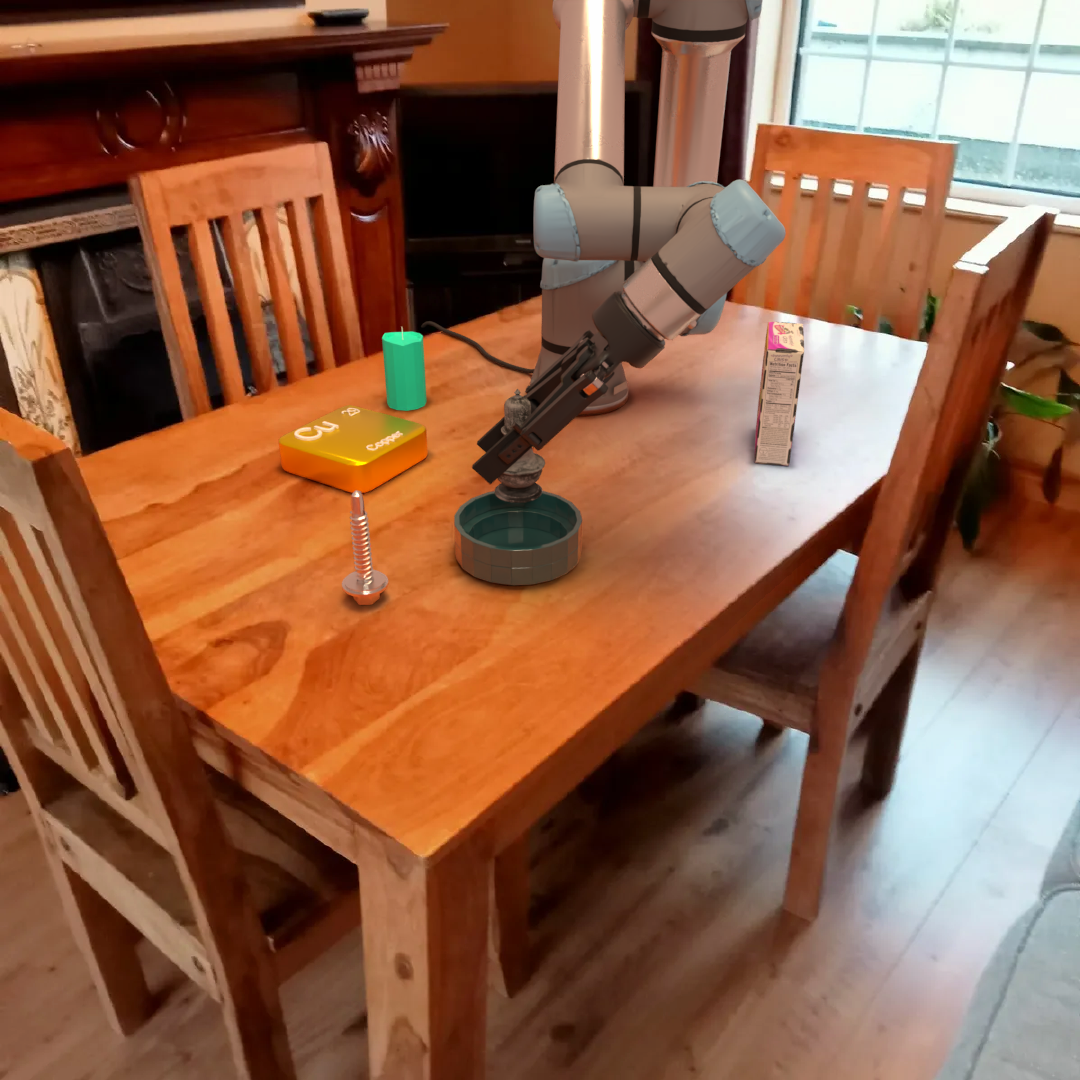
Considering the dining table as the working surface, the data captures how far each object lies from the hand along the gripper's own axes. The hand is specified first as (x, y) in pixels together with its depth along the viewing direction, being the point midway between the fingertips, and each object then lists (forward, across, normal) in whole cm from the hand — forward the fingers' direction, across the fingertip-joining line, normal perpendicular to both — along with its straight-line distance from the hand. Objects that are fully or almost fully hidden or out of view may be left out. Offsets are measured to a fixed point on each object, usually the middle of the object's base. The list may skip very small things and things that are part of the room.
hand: (484, 462), depth 109 cm
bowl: (+6, 0, -11) cm, 12 cm away
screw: (+17, -9, 0) cm, 19 cm away
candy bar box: (-18, +30, -35) cm, 50 cm away
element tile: (+22, +24, +5) cm, 33 cm away
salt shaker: (0, 0, -5) cm, 5 cm away
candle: (+19, +45, +3) cm, 49 cm away
